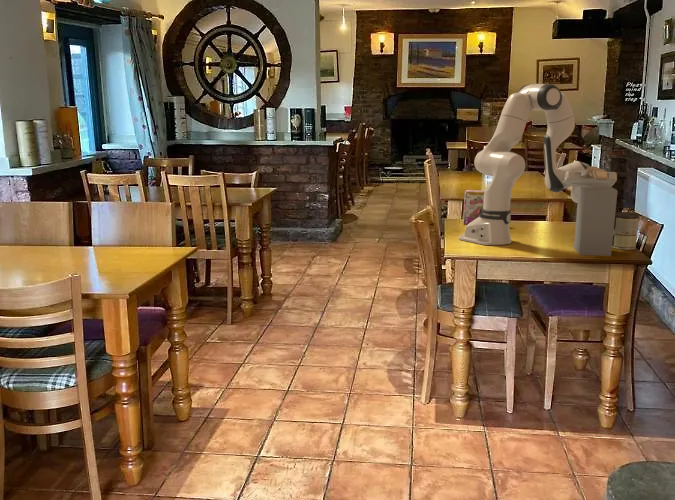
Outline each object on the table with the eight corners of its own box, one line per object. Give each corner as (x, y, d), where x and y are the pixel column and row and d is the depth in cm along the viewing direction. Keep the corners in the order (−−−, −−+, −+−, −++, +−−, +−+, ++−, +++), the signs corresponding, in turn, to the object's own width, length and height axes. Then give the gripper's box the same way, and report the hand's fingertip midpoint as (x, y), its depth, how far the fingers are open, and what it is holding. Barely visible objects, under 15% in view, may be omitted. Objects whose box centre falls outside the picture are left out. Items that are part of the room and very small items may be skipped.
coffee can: (603, 245, 282) (607, 212, 279) (622, 243, 286) (626, 211, 283) (622, 250, 273) (626, 216, 270) (641, 248, 277) (645, 215, 274)
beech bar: (606, 179, 259) (607, 172, 259) (597, 179, 260) (597, 171, 259) (595, 173, 278) (596, 166, 277) (586, 173, 278) (587, 166, 277)
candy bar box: (463, 224, 325) (465, 191, 321) (462, 222, 330) (464, 189, 326) (487, 225, 324) (489, 191, 320) (485, 223, 329) (487, 190, 325)
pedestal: (611, 255, 264) (617, 190, 258) (579, 254, 266) (585, 189, 260) (604, 249, 276) (610, 186, 270) (573, 247, 278) (579, 185, 272)
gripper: (561, 176, 288) (567, 163, 275) (611, 177, 285) (620, 163, 272) (561, 189, 286) (568, 177, 273) (611, 191, 283) (620, 178, 270)
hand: (594, 170), depth 272 cm, fingers closed on beech bar, 3 cm apart
